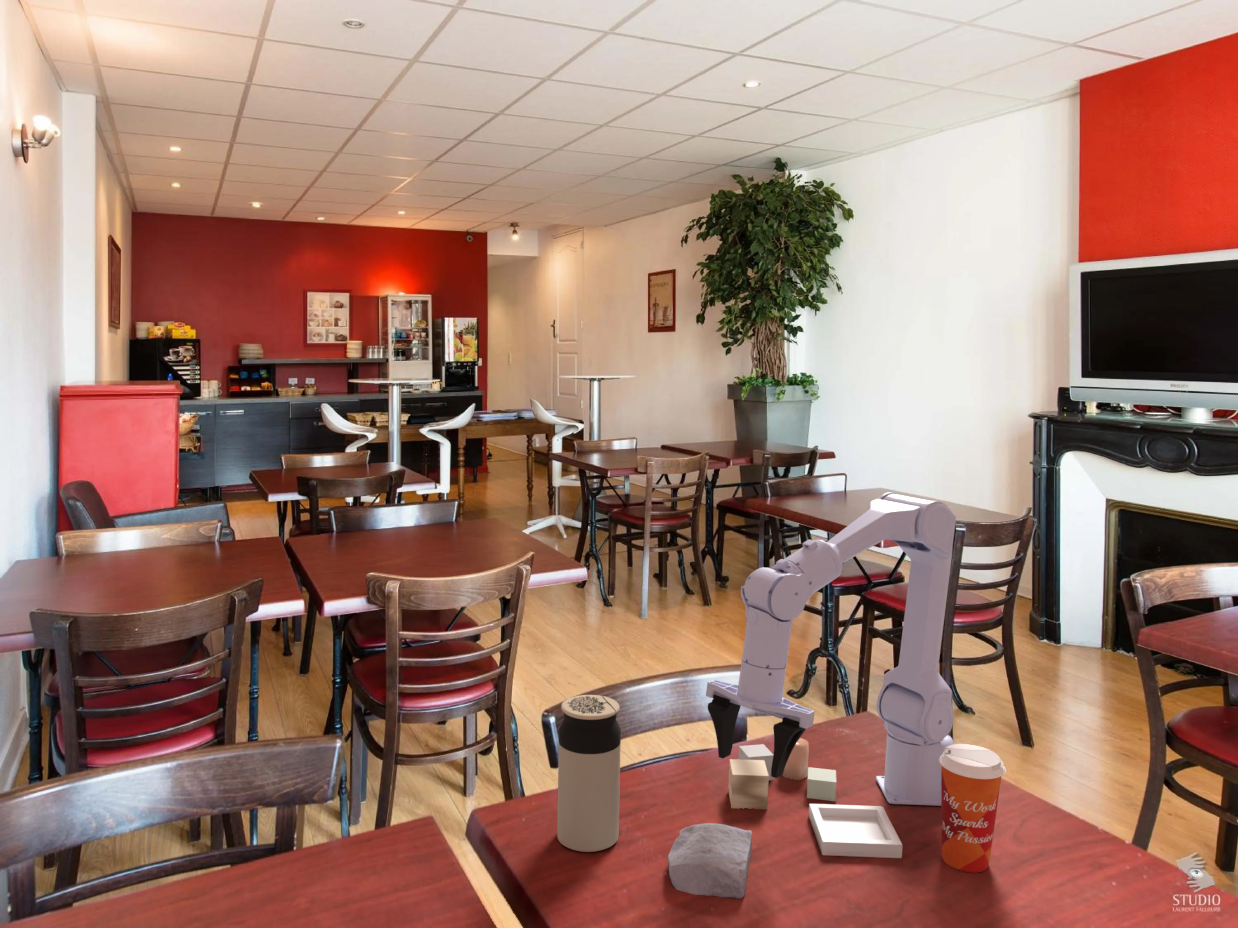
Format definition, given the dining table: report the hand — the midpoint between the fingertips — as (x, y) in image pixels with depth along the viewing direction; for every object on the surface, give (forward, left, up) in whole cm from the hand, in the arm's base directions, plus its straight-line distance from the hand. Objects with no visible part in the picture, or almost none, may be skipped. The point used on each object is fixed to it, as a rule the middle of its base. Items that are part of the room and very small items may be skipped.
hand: (750, 765), depth 118 cm
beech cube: (-1, -11, -10) cm, 15 cm away
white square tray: (-14, -2, -10) cm, 18 cm away
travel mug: (+21, +1, -11) cm, 23 cm away
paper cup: (-27, +3, -11) cm, 29 cm away
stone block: (+5, +7, -11) cm, 14 cm away
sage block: (-12, -14, -11) cm, 21 cm away
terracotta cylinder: (-9, -20, -10) cm, 25 cm away
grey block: (-3, -19, -10) cm, 22 cm away
